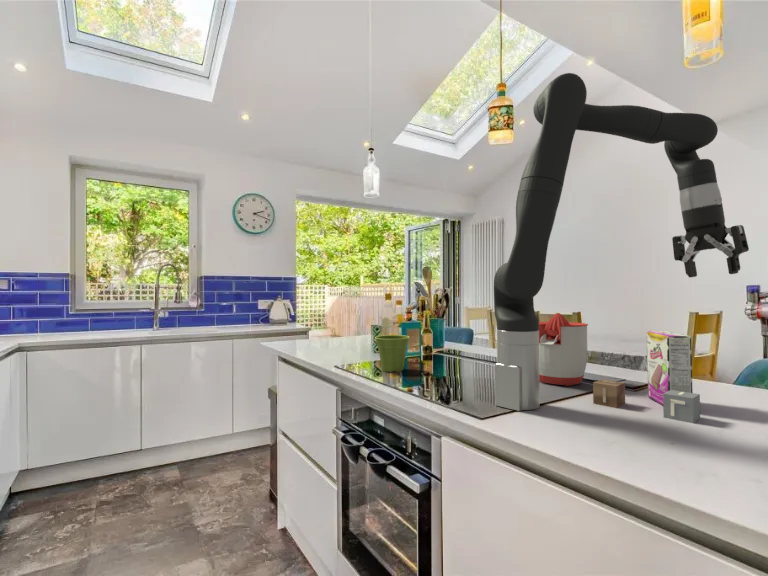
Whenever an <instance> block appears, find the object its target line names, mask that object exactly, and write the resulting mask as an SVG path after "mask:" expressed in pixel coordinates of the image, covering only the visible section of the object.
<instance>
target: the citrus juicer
mask: <svg viewBox="0 0 768 576" xmlns="http://www.w3.org/2000/svg"><path fill="white" fill-rule="evenodd" d="M588 326H589V324H588V323H585V322H573V321H568V320H567V319H566V318H565V316H563V315H562V314H561V313H559V312H557V313H556V312H555V314H553V316H552V317H551V318H549V320H547V321H539V383H541V384H552V385H558V386H559V385H560V386H561V385H562V386H564V387H571V386H572V385H579V384H580V383H582V380H583V379H584V376H585V371H586V370H587V369H586V368H587V364H588Z"/></svg>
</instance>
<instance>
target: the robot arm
mask: <svg viewBox="0 0 768 576" xmlns="http://www.w3.org/2000/svg"><path fill="white" fill-rule="evenodd" d="M587 94H588V93H587V87H586V84H585V81H584V80H583V78H581V76H579V75H578V74H576V73H573V72H566V73H563V74H559V75H558V76H556V77H555V78H553V80H551V81H550V82H549V83H548V84H547V85H546V86H545V88H544V89H543V91H541V93H540V94H539V95H538V97H537V99H536V100H535V102H534V104H533V109H532V110H533V116H534V118H535V120H536V121H537V122H538V123H539V124H540V125H541V128H540V133H539V136H538V138H537V141H536V143H535V145H534V146H533V148H532V151H531V153H530V155H529V157H528V160H527V162H526V164H525V167H524V169H523V172H522V175H521V179H520V181H519V187H518V189H517V190H518V191H517V195H516V200H515V201H516V202H515V228H516V229H515V237H514V241H513V245H512V249H511V251H510V255H509V258H508V260H507V261H506V262H505V263H504V264H502V265H500V266H499V267H498V269H497V270H496V271H495V273H494V278H493V279H494V280H493V301H494V302H493V303H494V305H493V306H494V318H495V321H496V359H497V360H496V363H495V364H494V366H495V367H494V372H495V373H494V375H495V376H494V379H495V381H494V383H495V384H494V386H495V389H494V391H495V393H494V394H495V396H494V397H495V398H494V399H495V403H494V405H495V406H497V407H502V408H505V409H510V410H514V411H518V412H521V411H529V410H532V411H533V410H536V409H539V408H540V406H541V405H540V404H541V403H540V402H541V400H540V399H541V398H540V397H541V396H540V393H541V392H540V387H541V386H540V381H539V322H540V320H539V318H538V316H537V314H536V312H535V304H534V297H536V295H538V294H539V292H540V290H541V288H542V287H543V283H544V279H545V271H546V262H547V255H548V249H549V242H550V238H551V235H552V231H553V228H554V224H555V219H556V215H557V210H558V208H559V204H560V201H561V196H562V192H563V187H564V182H565V177H566V172H567V168H568V165H569V160H570V155H571V149H572V144H573V140H574V136H575V133H576V131H582V132H583V131H584V132H592V133H600V134H607V135H612V136H616V137H622V138H625V139H630V140H632V141H638V142H641V143H645V144H649V145H651V144H652V145H654V144H659V143H664V145H663V147H664V151H665V154H666V156H667V158H668V160H669V162H670V165H671V167H672V169H673V170H674V171H675V174H676V177H677V185H678V191H679V206H680V210H681V215H682V222H683V228H684V230H685V235H676V236H673V237H671V240H672V249H673V258H674V260H675V261H678V262H679V261H680V262H683V263H684V271H685V274H686V276H687V277H688V278H694V277H695V278H696V277H697V276H698V272H697V266H696V261H695V259H696V256H697V255H698V254H700V252H701V251H706V250H714V249H716V250H718V251H720V252H722V253H723V254H724V255H726V263H727V269H728V274H730V275H735V274H738V273H739V271H740V270H741V264H740V263H741V262H740V258H739V256H741V255H742V254H744V253H745V252H748V251H750V248H749V247H750V246H749V244H748V240H747V236H746V233H745V227H744V225H743V224H740V225H739V224H737V225H733V226H731V227H727V226H726V224H725V223H726V217H725V212H724V207H723V206H724V205H723V198H722V195H721V191H720V187H719V184H718V180H717V179H718V178H717V173H716V168H715V164H714V162H713V161H712V159H709V158H700V156H699V155H698V153H697V150H699V149H701V148H703V147H704V148H705V147H706V146H708V145H709V144H711V143H712V142H713V141H714V140H715V139H716V137H717V135H718V128H719V127H718V124H717V123H716V122H715V121H714V119H712V118H711V117H709V116H707V115H705V114H700V113H696V112H695V113H690V112H664V111H661V110H658V109H657V110H656V109H655V108H649V107H646V106H641V105H630V104H629V105H628V104H627V105H626V104H625V105H624V104H623V105H621V104H620V105H596V104H588V103H586V102H587V96H588V95H587ZM728 234H729V236H730V237H732V240H733V241H732V242H733V243H732V242H730V241H729V240H728V239H726V237H728ZM686 242H687V243H688V247H686V246H685V244H686ZM733 245H734V246H733ZM685 247H686V248H685Z"/></svg>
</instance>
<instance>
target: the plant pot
mask: <svg viewBox="0 0 768 576" xmlns="http://www.w3.org/2000/svg"><path fill="white" fill-rule="evenodd" d="M410 338H411V337H410V336H409V335H403V334H401V335H400V334H389V335H388V334H386V335H378V336H375V337H374V339H375V340H376V345H377V348H378V354H379V360H380V361H379V362H380V367H381V370H382V371H383V372H387V373H392V372H396V373H398V372H402V371H404V367H405V361H406V355H407V354H406V353H407V347H408V343H409V339H410Z"/></svg>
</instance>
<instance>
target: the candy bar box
mask: <svg viewBox="0 0 768 576" xmlns="http://www.w3.org/2000/svg"><path fill="white" fill-rule="evenodd" d="M646 352H647V353H646V354H647V355H646V357H647V358H646V359H647V360H646V361H647V397H648V398H650V399H651V400H653V401H654V402H656V403H657V404H659V405H661V406H663V394H664V393H666V392H668V391H670V390H675V391H682V392H688V393H693V357H692V356H693V355H692V353H693V352H692V336H690V335H686V334H681V333H678V332H673V331H668V330H647V331H646Z"/></svg>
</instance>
